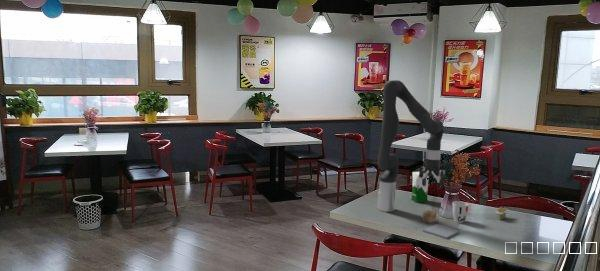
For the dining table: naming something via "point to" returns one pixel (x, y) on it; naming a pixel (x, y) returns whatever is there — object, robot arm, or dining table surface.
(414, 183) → the milk carton
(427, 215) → the walnut cube
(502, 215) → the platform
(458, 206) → the cup
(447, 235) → the grey mat
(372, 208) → the dining table surface
